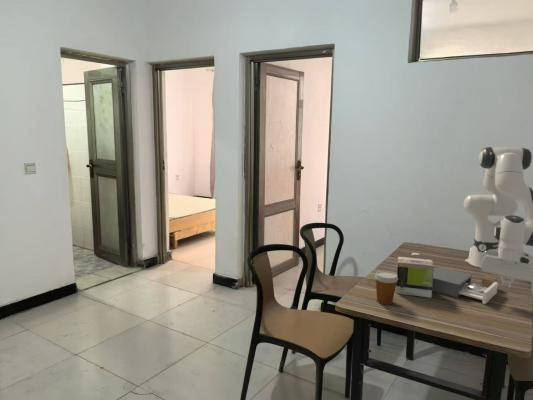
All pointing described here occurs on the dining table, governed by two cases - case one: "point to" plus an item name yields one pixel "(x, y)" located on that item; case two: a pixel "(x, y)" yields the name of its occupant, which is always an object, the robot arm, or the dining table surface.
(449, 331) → the dining table surface
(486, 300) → the cream drawer
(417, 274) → the tea box
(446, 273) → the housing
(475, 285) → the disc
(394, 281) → the disposable coffee cup
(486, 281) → the wooden block
